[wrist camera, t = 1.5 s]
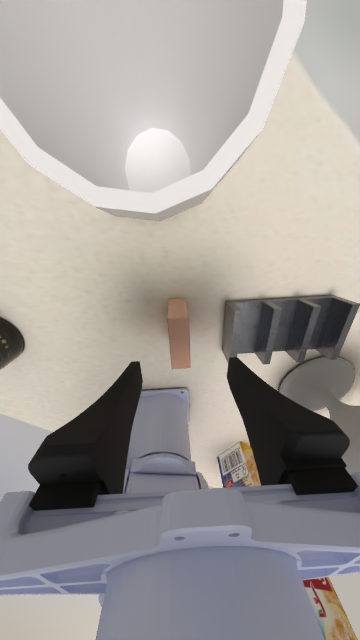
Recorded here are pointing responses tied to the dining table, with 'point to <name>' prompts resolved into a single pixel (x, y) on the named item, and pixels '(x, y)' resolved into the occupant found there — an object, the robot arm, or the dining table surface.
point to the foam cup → (141, 93)
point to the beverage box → (324, 600)
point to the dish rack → (287, 326)
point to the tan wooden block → (179, 333)
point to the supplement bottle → (9, 343)
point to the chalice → (328, 398)
